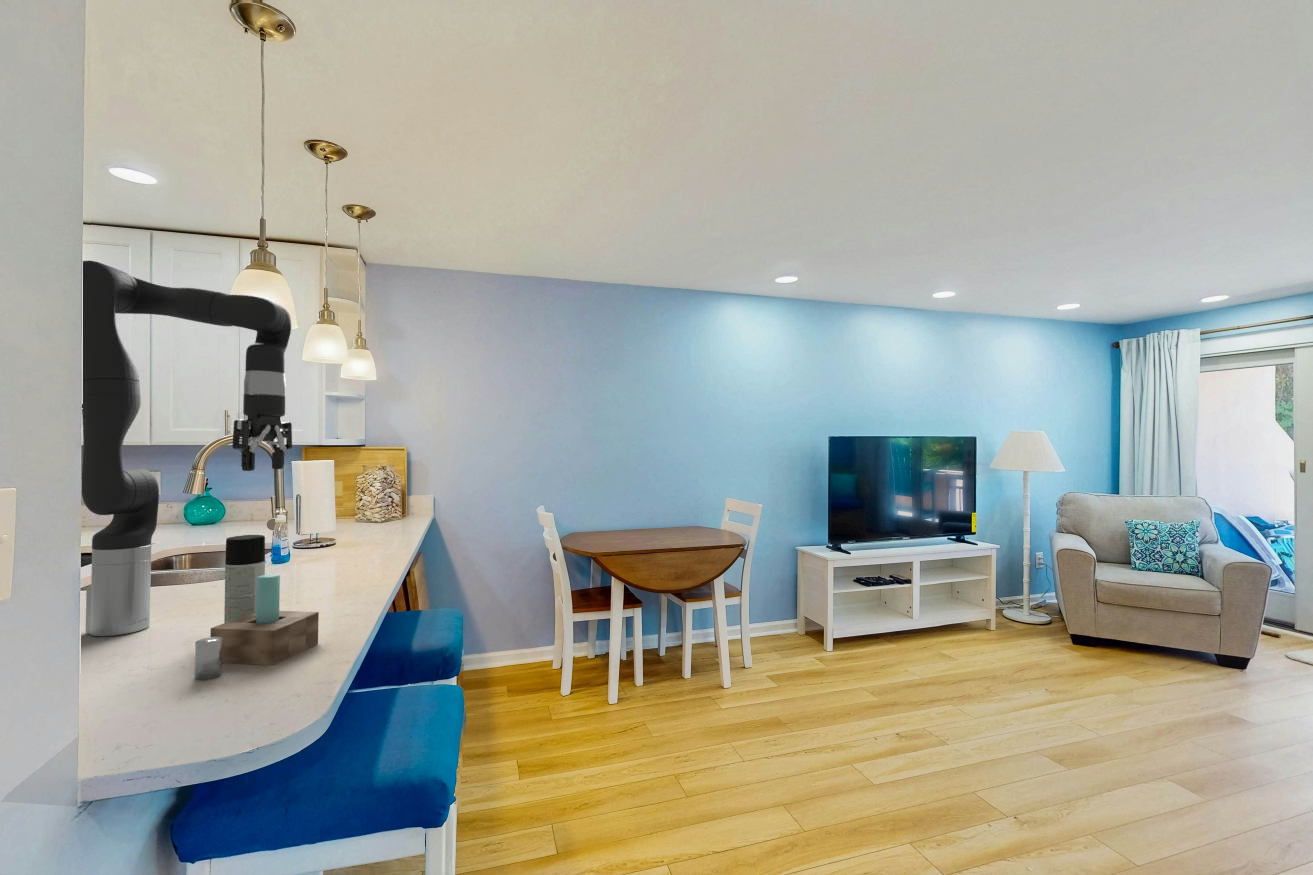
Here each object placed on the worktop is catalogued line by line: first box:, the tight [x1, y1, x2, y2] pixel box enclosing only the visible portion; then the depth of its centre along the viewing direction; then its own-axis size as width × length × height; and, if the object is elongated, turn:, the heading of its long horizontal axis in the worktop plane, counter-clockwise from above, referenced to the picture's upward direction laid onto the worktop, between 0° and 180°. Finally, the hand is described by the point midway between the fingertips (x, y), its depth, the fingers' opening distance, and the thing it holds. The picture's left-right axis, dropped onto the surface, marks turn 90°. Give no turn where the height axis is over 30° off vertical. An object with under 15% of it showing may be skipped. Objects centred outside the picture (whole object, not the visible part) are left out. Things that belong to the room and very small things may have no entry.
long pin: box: [256, 574, 281, 624], centre depth 113 cm, size 4×4×14 cm
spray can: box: [223, 534, 266, 624], centre depth 122 cm, size 7×7×20 cm
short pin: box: [194, 636, 223, 682], centre depth 101 cm, size 4×4×6 cm
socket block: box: [209, 610, 320, 666], centre depth 113 cm, size 12×12×6 cm
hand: (263, 469), depth 129 cm, fingers open, 8 cm apart
